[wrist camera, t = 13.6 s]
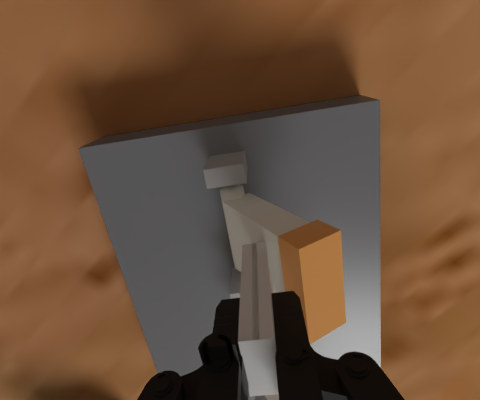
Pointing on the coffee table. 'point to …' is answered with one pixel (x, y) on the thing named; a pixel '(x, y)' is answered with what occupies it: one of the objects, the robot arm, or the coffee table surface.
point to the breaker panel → (213, 219)
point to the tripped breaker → (291, 255)
